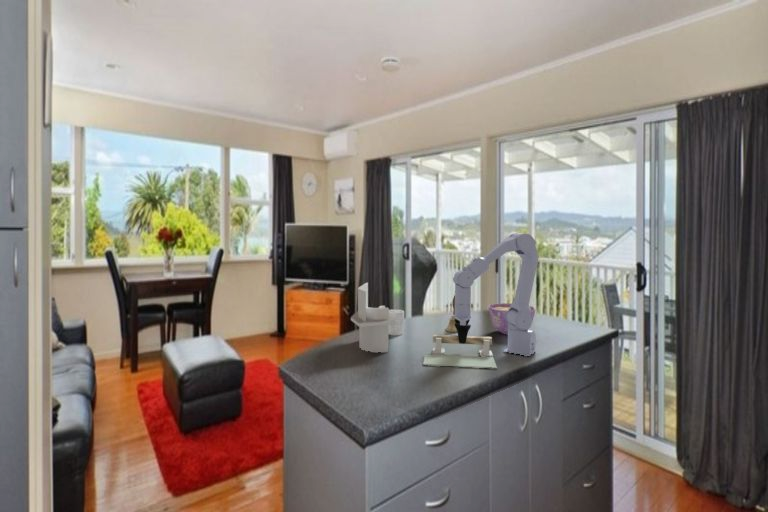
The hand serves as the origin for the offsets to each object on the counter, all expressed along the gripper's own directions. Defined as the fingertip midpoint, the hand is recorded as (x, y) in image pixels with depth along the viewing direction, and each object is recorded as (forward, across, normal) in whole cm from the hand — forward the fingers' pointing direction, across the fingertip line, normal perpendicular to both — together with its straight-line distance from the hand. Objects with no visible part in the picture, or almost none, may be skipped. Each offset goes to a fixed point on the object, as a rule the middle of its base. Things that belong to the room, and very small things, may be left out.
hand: (462, 340), depth 152 cm
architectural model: (+5, -5, -35) cm, 36 cm away
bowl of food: (+5, -34, +22) cm, 41 cm away
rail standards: (+5, 0, 0) cm, 5 cm away
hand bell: (+5, -36, -2) cm, 36 cm away
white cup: (+5, -26, -28) cm, 38 cm away
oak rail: (+1, 0, 0) cm, 1 cm away
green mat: (+5, +10, -1) cm, 11 cm away
